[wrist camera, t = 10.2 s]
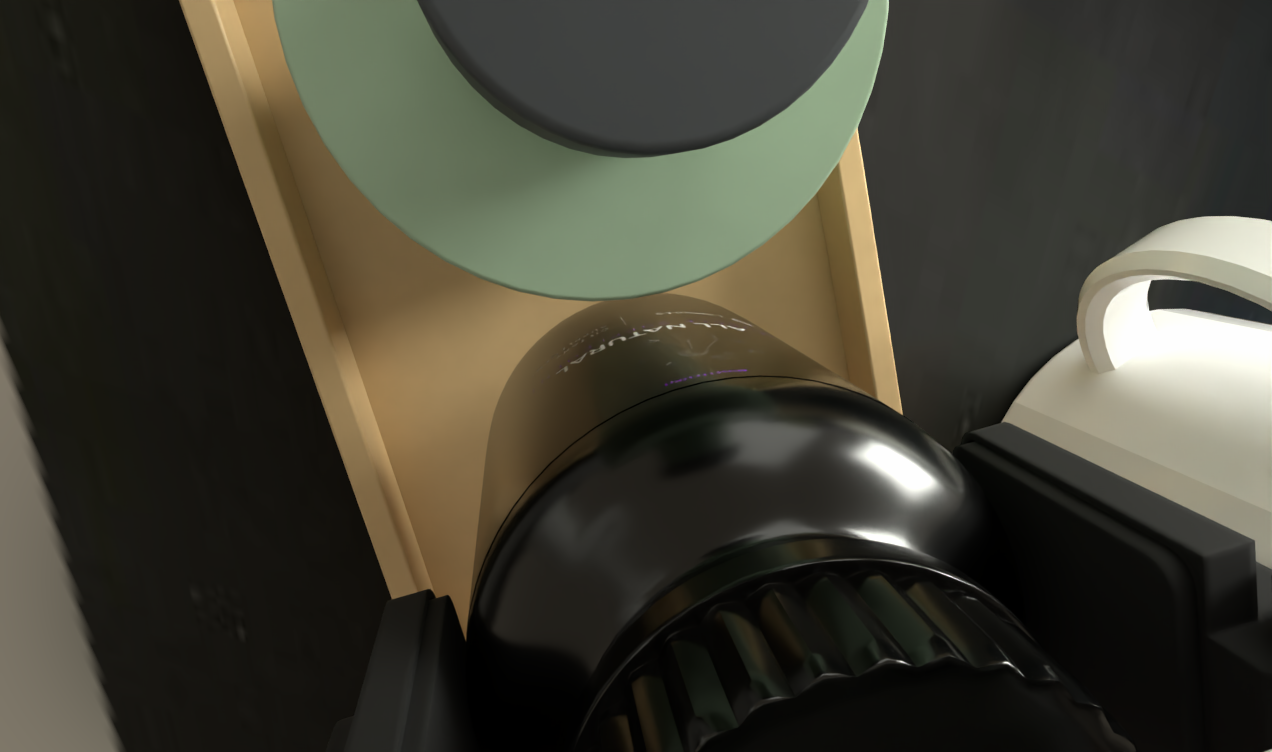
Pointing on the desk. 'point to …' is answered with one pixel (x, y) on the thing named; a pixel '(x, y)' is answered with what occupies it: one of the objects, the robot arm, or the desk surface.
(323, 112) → the middle bottle
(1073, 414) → the mug
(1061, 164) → the desk surface
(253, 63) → the tray
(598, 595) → the supplement bottle
